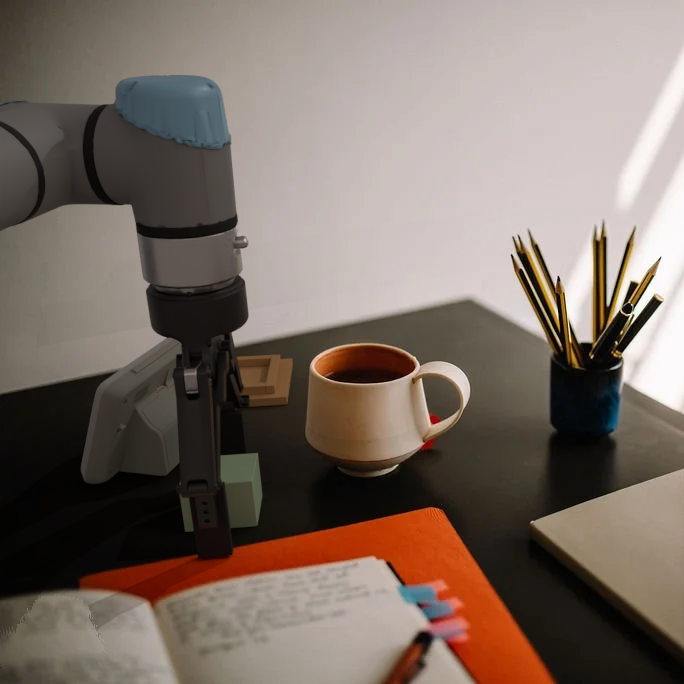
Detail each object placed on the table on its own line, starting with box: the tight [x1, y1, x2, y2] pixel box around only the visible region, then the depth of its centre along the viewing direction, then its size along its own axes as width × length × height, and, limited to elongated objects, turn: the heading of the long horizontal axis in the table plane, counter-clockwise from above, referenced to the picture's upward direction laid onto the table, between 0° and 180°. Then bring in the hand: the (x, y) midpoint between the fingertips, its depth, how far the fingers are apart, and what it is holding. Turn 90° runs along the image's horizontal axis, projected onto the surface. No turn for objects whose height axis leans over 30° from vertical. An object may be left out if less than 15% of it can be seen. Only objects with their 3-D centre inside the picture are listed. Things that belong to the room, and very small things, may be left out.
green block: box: [178, 452, 263, 533], centre depth 79 cm, size 6×5×4 cm
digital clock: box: [80, 337, 182, 485], centre depth 88 cm, size 16×9×11 cm, turn 158°
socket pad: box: [237, 354, 294, 408], centre depth 104 cm, size 12×11×2 cm
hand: (225, 511), depth 80 cm, fingers open, 12 cm apart
